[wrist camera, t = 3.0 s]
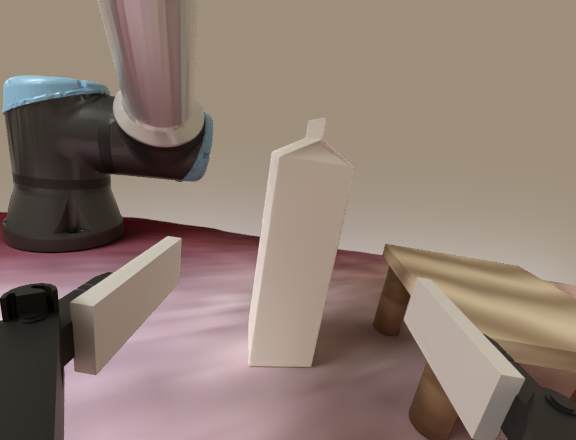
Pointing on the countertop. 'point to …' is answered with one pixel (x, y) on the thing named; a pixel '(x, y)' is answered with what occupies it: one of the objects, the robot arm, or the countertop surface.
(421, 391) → the small table
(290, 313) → the milk
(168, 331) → the countertop surface
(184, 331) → the countertop surface
